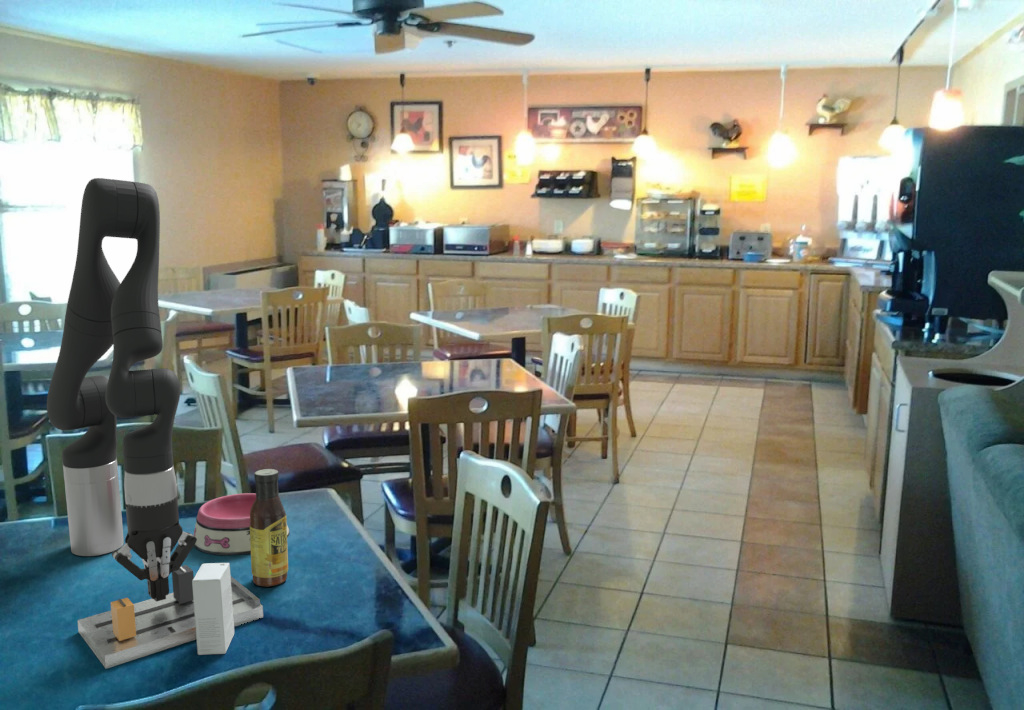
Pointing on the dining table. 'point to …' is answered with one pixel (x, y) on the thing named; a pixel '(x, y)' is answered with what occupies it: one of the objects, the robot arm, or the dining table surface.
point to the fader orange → (123, 619)
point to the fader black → (183, 584)
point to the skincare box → (213, 608)
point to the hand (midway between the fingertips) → (159, 598)
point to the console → (158, 626)
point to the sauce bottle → (268, 531)
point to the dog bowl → (225, 525)
